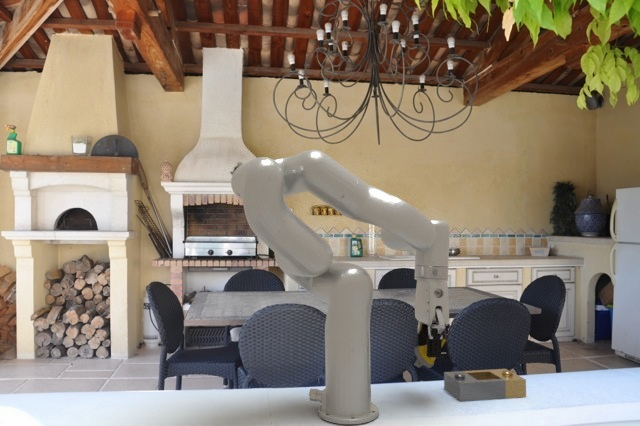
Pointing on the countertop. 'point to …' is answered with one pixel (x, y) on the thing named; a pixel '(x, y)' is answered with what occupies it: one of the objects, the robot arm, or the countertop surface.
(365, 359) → the robot arm
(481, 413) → the countertop surface
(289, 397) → the countertop surface
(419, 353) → the yellow tiered cone
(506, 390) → the metal strike plate
